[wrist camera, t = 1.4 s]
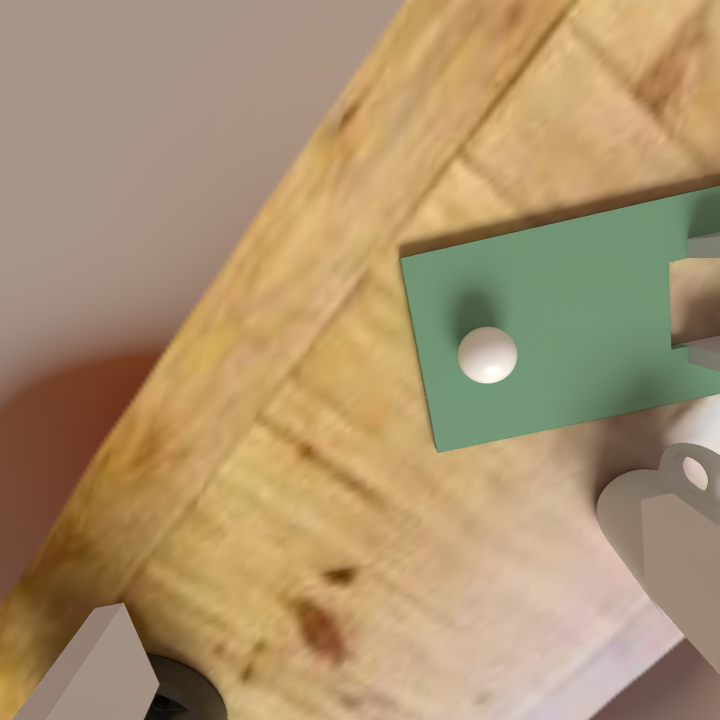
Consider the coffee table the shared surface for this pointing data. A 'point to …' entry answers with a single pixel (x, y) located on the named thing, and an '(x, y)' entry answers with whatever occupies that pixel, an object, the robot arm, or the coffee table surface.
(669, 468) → the cup
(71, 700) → the robot arm
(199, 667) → the coffee table surface
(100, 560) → the coffee table surface
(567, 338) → the green mat
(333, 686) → the coffee table surface
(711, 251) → the white u-shaped bracket
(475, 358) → the ball
